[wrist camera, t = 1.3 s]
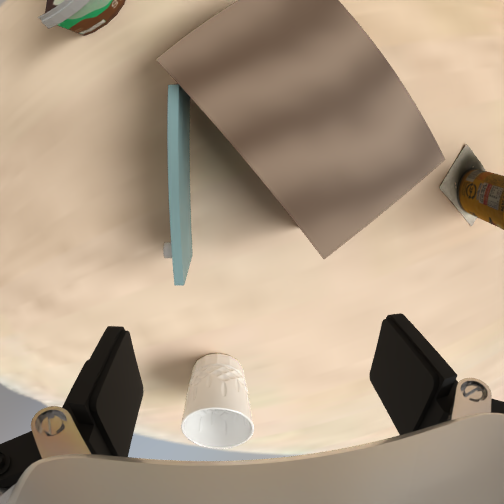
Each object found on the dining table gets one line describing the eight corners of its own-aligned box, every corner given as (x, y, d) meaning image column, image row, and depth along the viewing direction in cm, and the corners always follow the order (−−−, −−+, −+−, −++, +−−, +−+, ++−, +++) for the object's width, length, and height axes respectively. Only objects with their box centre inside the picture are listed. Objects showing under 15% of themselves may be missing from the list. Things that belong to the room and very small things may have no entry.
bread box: (175, 80, 27) (155, 59, 19) (285, 4, 25) (303, -35, 16) (300, 227, 33) (323, 259, 25) (396, 151, 31) (445, 159, 23)
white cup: (177, 374, 39) (168, 431, 30) (211, 338, 37) (208, 397, 28) (223, 399, 41) (224, 455, 32) (260, 367, 40) (269, 425, 30)
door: (169, 97, 27) (152, 86, 20) (189, 96, 27) (178, 84, 20) (173, 255, 32) (160, 285, 26) (192, 255, 32) (184, 285, 26)
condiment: (470, 226, 35) (531, 258, 24) (438, 187, 33) (506, 212, 22) (494, 185, 33) (557, 207, 22) (464, 143, 31) (534, 155, 20)
